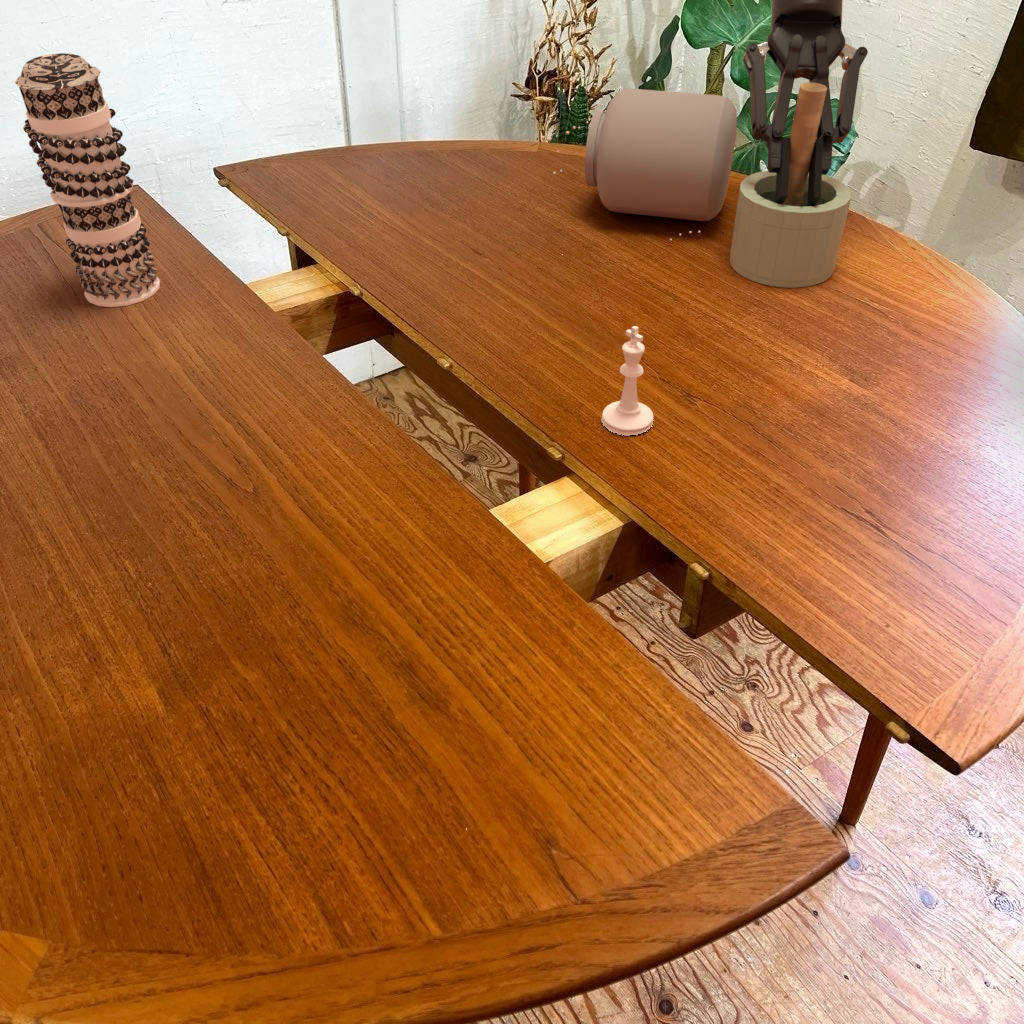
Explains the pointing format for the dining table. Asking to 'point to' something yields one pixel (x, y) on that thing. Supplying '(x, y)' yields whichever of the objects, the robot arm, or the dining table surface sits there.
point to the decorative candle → (88, 178)
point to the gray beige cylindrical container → (787, 233)
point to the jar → (662, 153)
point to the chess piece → (629, 394)
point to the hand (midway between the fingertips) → (797, 200)
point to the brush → (803, 138)
